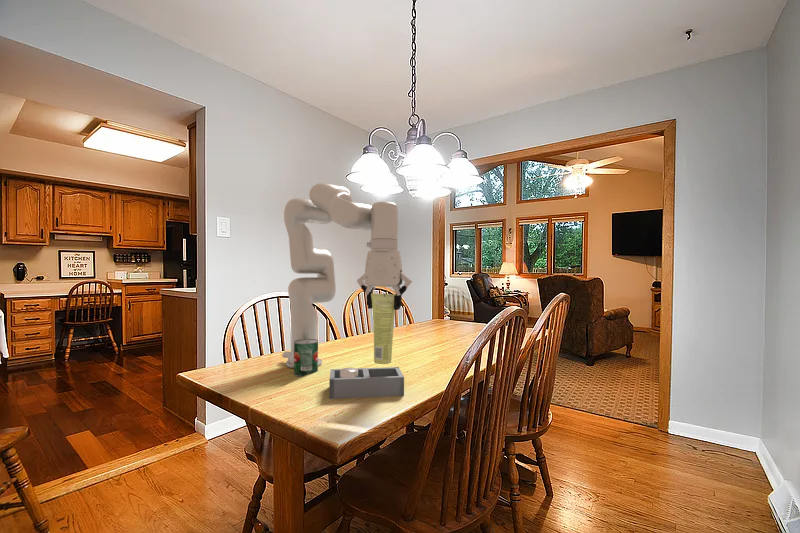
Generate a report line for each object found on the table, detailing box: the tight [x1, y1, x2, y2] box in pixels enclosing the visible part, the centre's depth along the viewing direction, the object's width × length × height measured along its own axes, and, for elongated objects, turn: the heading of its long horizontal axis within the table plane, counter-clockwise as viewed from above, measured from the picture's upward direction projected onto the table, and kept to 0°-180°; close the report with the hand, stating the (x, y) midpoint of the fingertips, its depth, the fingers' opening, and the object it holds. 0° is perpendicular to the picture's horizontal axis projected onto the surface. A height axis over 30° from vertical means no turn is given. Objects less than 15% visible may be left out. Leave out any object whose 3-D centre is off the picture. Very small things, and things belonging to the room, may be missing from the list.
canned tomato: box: [293, 339, 319, 378], centre depth 128 cm, size 8×8×11 cm
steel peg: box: [340, 367, 358, 378], centre depth 108 cm, size 5×5×6 cm
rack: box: [328, 366, 405, 400], centre depth 108 cm, size 20×10×6 cm, turn 99°
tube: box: [371, 293, 396, 365], centre depth 109 cm, size 6×5×20 cm
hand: (383, 308), depth 109 cm, fingers closed on tube, 7 cm apart
